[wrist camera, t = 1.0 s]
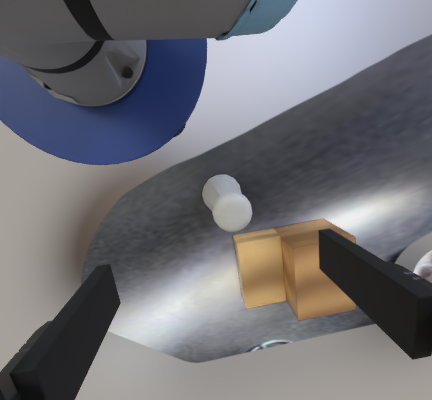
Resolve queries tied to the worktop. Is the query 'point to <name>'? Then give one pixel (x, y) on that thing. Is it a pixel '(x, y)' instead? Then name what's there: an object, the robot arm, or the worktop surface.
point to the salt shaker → (227, 203)
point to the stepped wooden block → (289, 270)
